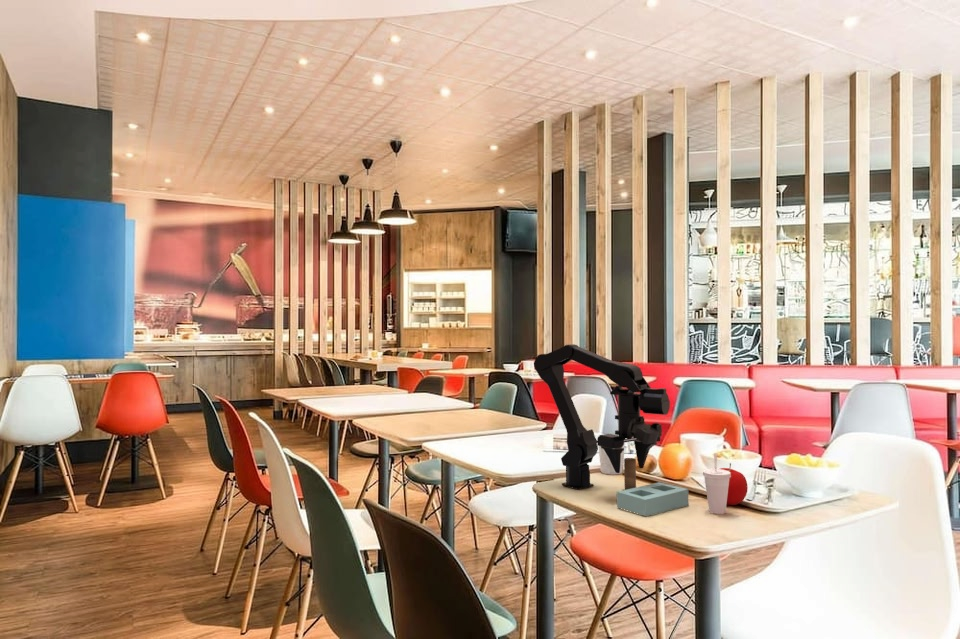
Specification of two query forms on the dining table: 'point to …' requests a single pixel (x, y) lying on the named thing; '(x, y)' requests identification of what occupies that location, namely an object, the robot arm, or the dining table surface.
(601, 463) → the white cup
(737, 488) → the fruit
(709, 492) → the smoothie
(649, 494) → the hole block
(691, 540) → the dining table surface
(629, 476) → the peg
